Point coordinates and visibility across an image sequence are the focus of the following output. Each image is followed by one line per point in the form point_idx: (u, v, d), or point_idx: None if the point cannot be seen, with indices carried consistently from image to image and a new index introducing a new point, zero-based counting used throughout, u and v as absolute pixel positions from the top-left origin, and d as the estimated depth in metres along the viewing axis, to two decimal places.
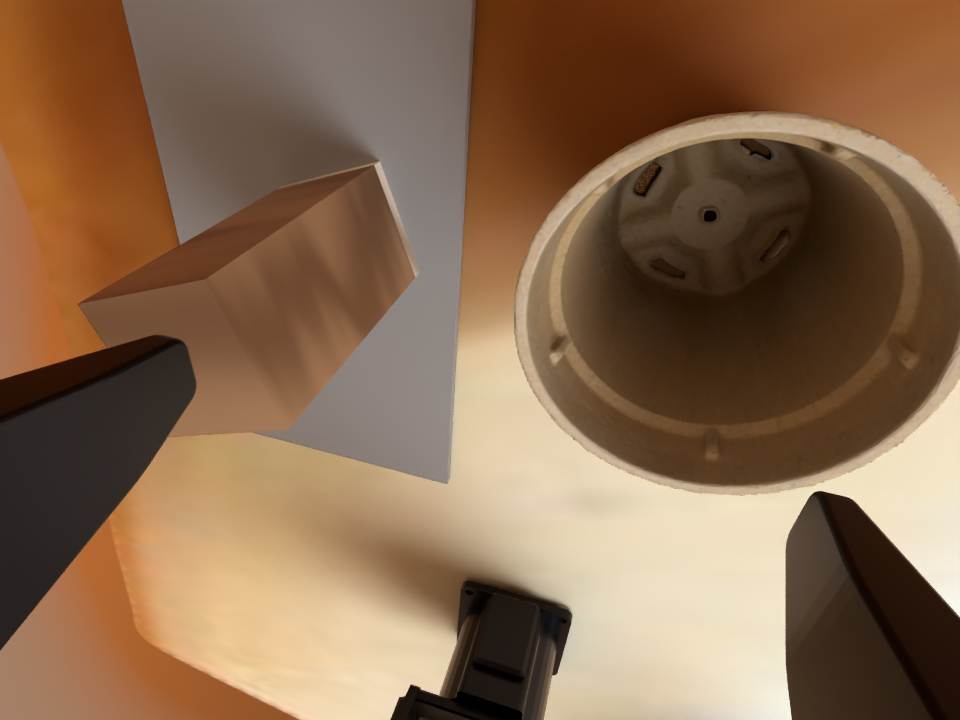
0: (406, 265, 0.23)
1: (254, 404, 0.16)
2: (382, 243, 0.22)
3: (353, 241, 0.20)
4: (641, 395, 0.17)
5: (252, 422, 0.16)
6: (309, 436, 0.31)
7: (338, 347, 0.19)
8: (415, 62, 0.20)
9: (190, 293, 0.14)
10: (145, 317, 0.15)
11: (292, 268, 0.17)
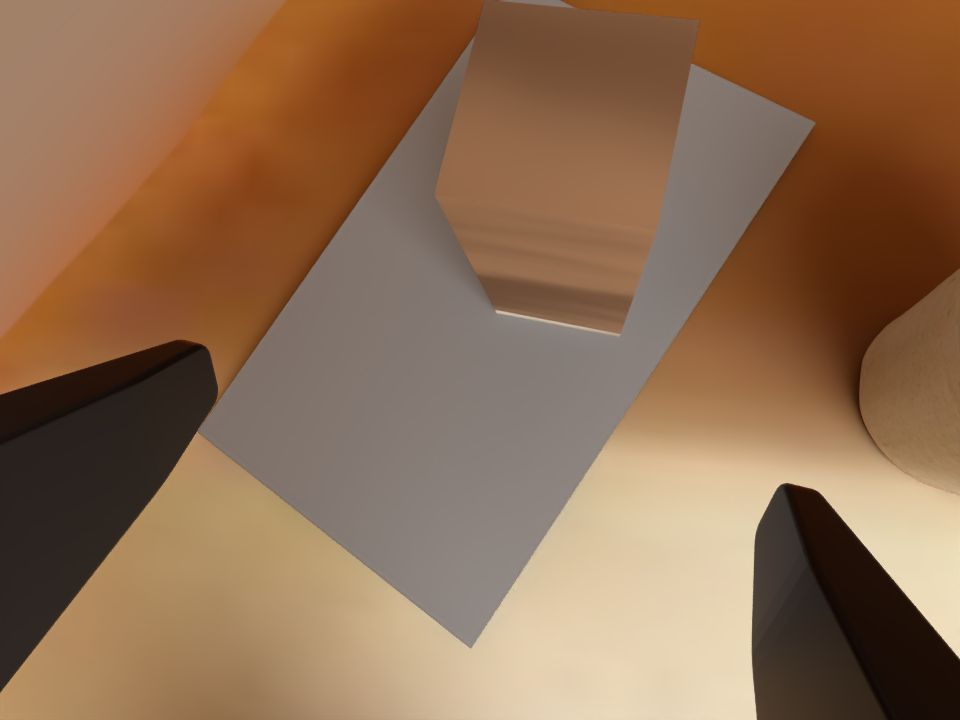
0: None
1: (633, 181, 0.12)
2: None
3: None
4: None
5: (605, 206, 0.12)
6: (313, 494, 0.22)
7: None
8: (729, 159, 0.22)
9: (664, 28, 0.12)
10: (569, 37, 0.12)
11: None
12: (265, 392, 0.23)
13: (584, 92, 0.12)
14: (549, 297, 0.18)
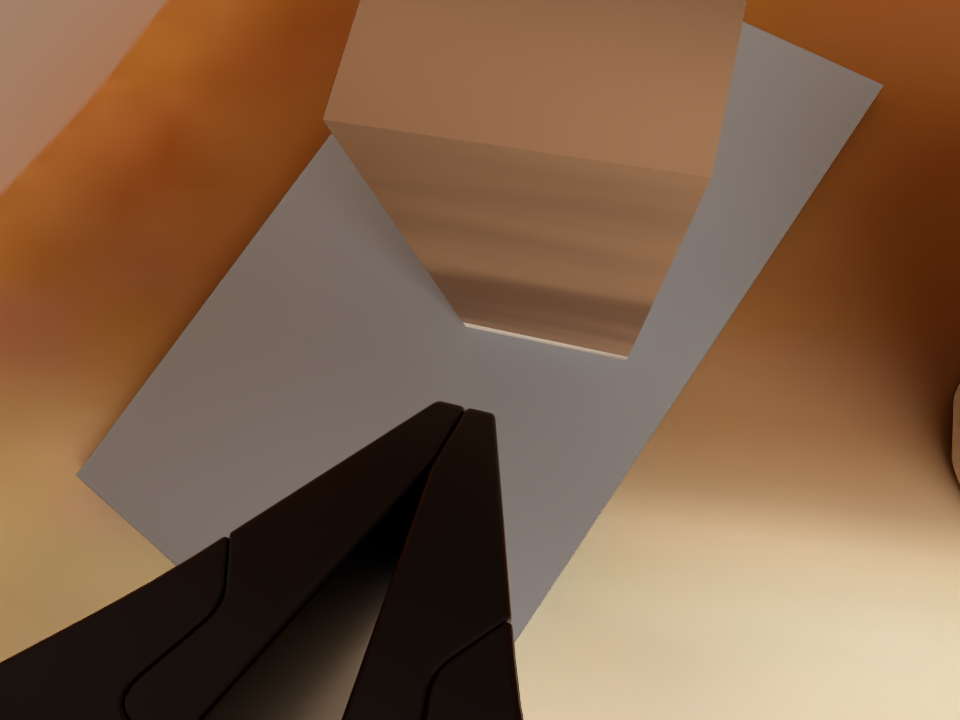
0: None
1: (667, 93, 0.07)
2: None
3: None
4: None
5: (617, 136, 0.07)
6: None
7: None
8: (770, 131, 0.17)
9: None
10: None
11: None
12: (165, 425, 0.18)
13: None
14: (531, 305, 0.13)
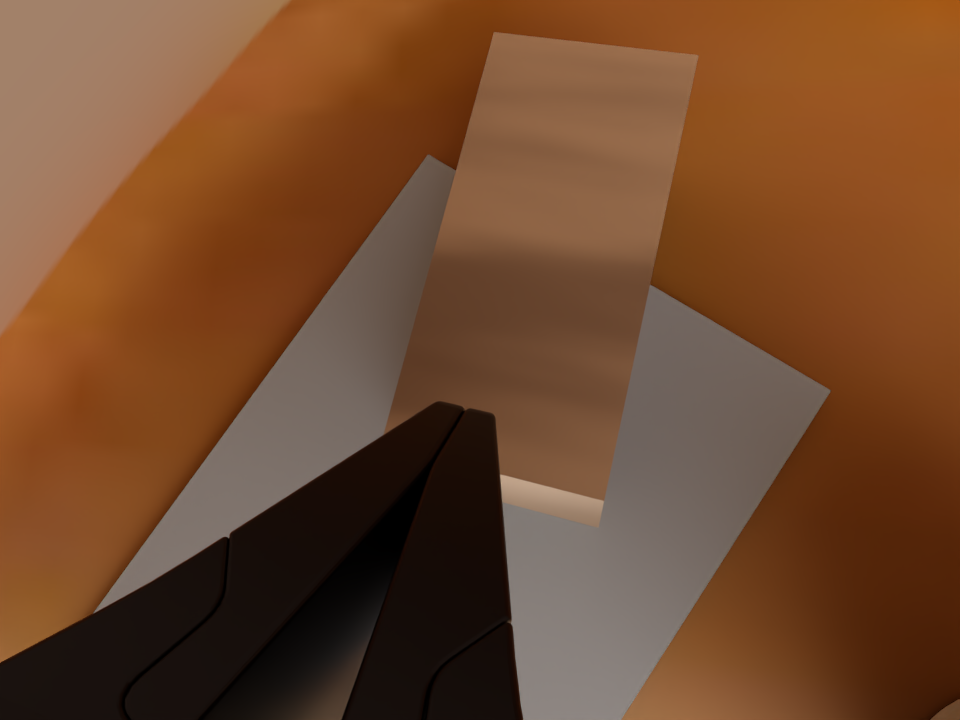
0: None
1: None
2: None
3: None
4: None
5: None
6: None
7: None
8: (709, 436, 0.15)
9: None
10: None
11: None
12: None
13: None
14: (519, 319, 0.12)
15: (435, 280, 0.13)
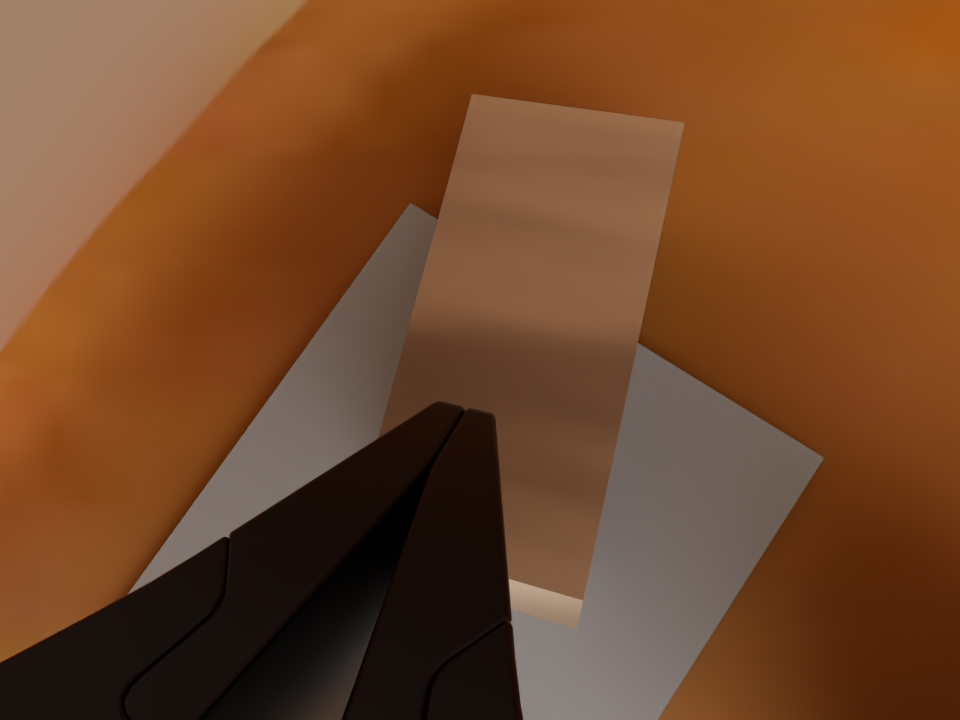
0: None
1: None
2: None
3: None
4: None
5: None
6: None
7: None
8: (698, 503, 0.15)
9: None
10: None
11: None
12: None
13: None
14: (496, 402, 0.12)
15: (409, 359, 0.12)
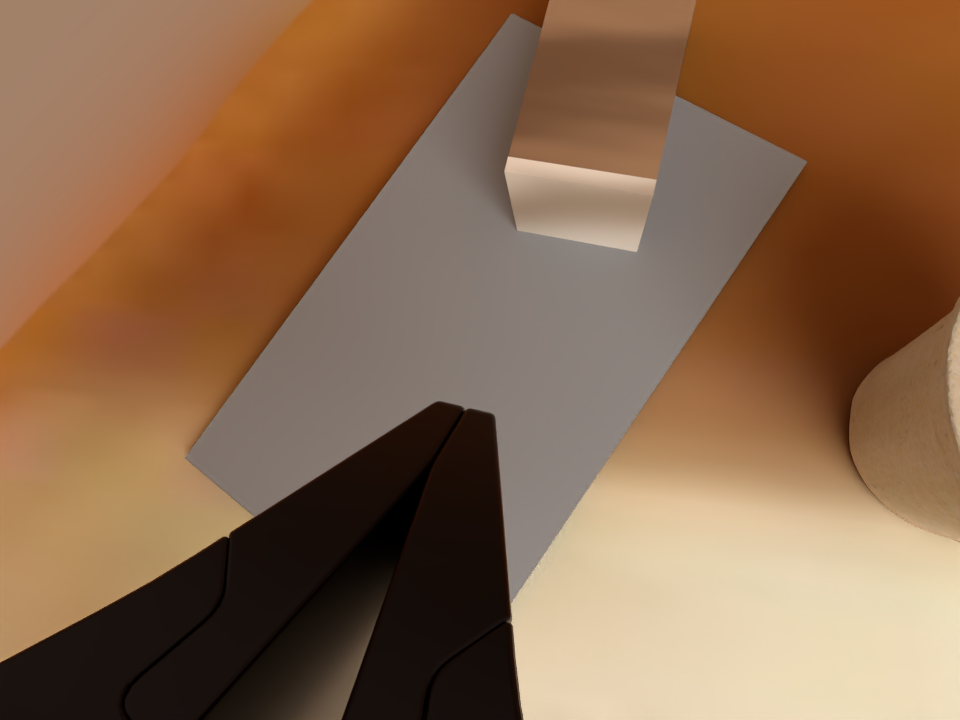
0: None
1: None
2: None
3: None
4: None
5: None
6: None
7: None
8: (721, 196, 0.22)
9: None
10: None
11: None
12: (254, 419, 0.23)
13: None
14: (599, 76, 0.18)
15: (541, 56, 0.19)
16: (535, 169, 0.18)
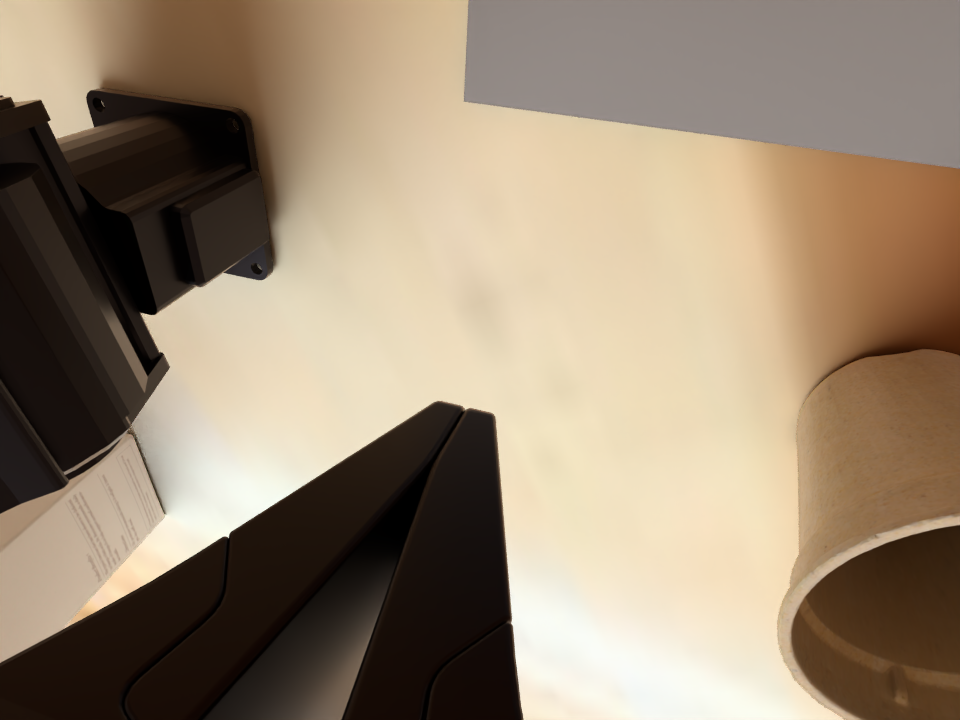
0: None
1: None
2: None
3: None
4: None
5: None
6: None
7: None
8: None
9: None
10: None
11: None
12: None
13: None
14: None
15: None
16: None
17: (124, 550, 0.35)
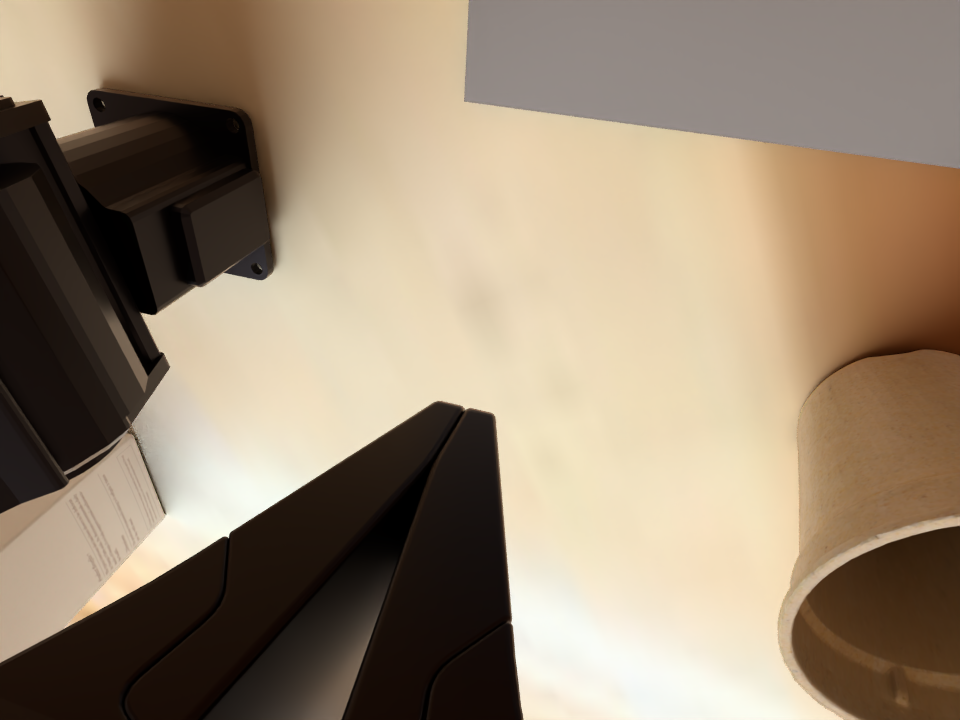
0: None
1: None
2: None
3: None
4: None
5: None
6: None
7: None
8: None
9: None
10: None
11: None
12: None
13: None
14: None
15: None
16: None
17: (124, 550, 0.35)
